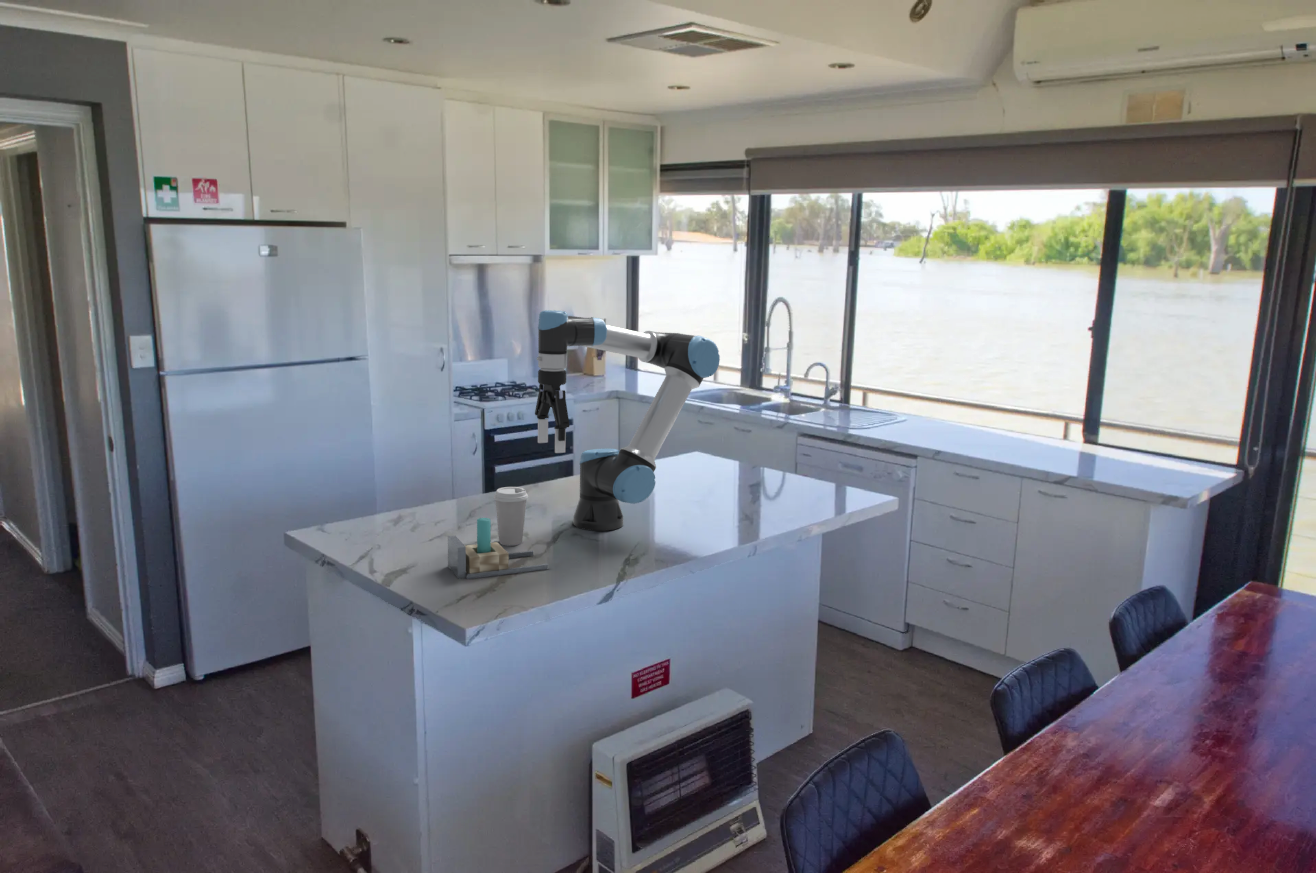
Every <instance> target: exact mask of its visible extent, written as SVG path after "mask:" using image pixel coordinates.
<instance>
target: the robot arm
mask: <svg viewBox="0 0 1316 873" xmlns="http://www.w3.org/2000/svg"><path fill="white" fill-rule="evenodd" d="M538 315H539V316H538V317H539V318H538V324H537V325H538V326H537V330H538V335H537V336H538V338H537V340H538V344H537V345H538V348H537V350H538V355H537V356H536V361H538V365H537V367H538V368H539V369H538V371H537V383H538V384H539V385H538V395H537V400H536V404H535V410H534V415H535V416H536V417H537V443H538V444H545V443H549V418H550V416H549V412H550V410H552V413H553V417H554V418H553V419H554V423H555V426H554V428H553V429H554V453H555V454H563V453H566V440H567V439H566V438H567V436H566V435H567V428H570V425H571V424H570V420H569V419H570V418H569V413H568V407H567V405H568V404H567V399H566V398H567V397H566V396H567V395H566V393H567V392H566V390H565V389H563V390H562V389H561V386H564V385H566V383H567V371H566V369H567V368H568V352H567V351H568V347H580V346H581V347H584V348H585V347H586V348H590V349H595V350H600V351H603V352H604V351H606V352H608V353H615V354H619V355H624V356H628V357H633V358H637V359H638V360H639V362H642V363H646V364H651V365H654V366H655V367H656V366H657V367H660V368H662V369H664V373H665V377H664V379H663V381H662V383H661V384H660V386H659V389H658V390H657V392H656V394H655V396H654V398H653V399H652V402H651V403H650V405H649V407H648V409H647V411H646V413H645V414H644V416H643V418H642V420H641V421H640V423H639V426H638V427H637V429H636V431H635V433H634V435H633V437H632V438H631V440H630V441H629V444H628V445H627V446H625V447H621V448H620V450H619V449H617V448H593V449H588V450H584V451H583V452H581V453H580V459H579V500H578V503H577V505H576V509H575V510H574V513H573V518H572V520H573V521H572V522H573V525H574V527H576V528H578V529H582V530H586V531H592V532H593V531H594V532H595V531H596V532H597V531H599V532H603V531H612V530H614V531H615V530H618V529H620V528H622V527H623V526H624V515H623V512H622V509H621V505H620V502H622V503H626V504H630V505H631V504H632V505H635V504H639V503H642V502H644V501H646V500H647V499H648V498H649V497H650V496H651V494H652V493H653V491H654V490H655V487H656V474H655V470H656V469H657V465H656V457H657V456H658V454H659V452H660V450H661V448H662V446H663V444H664V442H665V440H666V438H667V437H668V435H669V433H670V431H671V429H672V428H673V426H674V424H675V421H676V420H677V419H678V416H679V414H680V412H681V411H682V409H683V408H684V407H683V406H684V405H685V403H686V401H687V400H688V397H689V396H690V393H691V392H692V390H693V389H697V388H699V387H700V386H701V385H702V382H703V380H704V379H706V378H710V377H712V376H713V375H714V374H715V373H716V372H717V370H718V369H719V366H720V360H721V359H720V358H721V356H720V354H719V352H720V351H719V348H718V346H717V344H716V343H715V342H714V341H713V340H712V339H710V338H709V337H705V336H702V335H695V334H694V335H692V334H685V333H680V332H659V331H658V332H657V331H651V330H645V331H643V332H642V331H641V332H640V331H638V330H631V329H627V328H623V327H618V326H613V325H610V324H606V322H605V321H604V320H603V319H602V318H600V317H594V316H593V317H592V316H591V317H581V316H574V315H568V313H567V312H566V311H564V310H555V309H553V310H550V309H549V310H547V309H546V310H542V311H540V313H539V314H538ZM551 408H552V409H551Z"/></svg>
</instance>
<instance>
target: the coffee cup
mask: <svg viewBox="0 0 1316 873" xmlns="http://www.w3.org/2000/svg"><path fill="white" fill-rule="evenodd" d="M493 499H494V500H495V509H496V510H495V512H496V518H497V519H496V521H497V531H498V533H497V534H498V543H499V544H500V545H503V546H508V547H509V546H511V547H512V546H518V545H521V544H522V543H523V542H524V541H523V540H524V532H525V531H524V528H525V519H526V508H527V500H528V499H529V495H528V493H527V491H526V489H525V488H523V487H518V486H505V487H499V488H497V489H496V492H495V493H494V495H493Z"/></svg>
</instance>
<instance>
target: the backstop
mask: <svg viewBox="0 0 1316 873" xmlns="http://www.w3.org/2000/svg"><path fill="white" fill-rule="evenodd" d="M465 546H466V545H464V543H463V542H462V541H461V540H460V539H459V538H458V536H456V535H450V536H449V535H448V536H447V566H448V568H449V569H450V570H451V572H452V573H453V574H454V576H455V577H456V578H457V579H466V580H471V579H479V578H487V577H494V576H505V575H512V574H520V573H528V572H535V571H545V570H548V569H549V564H548V563H542V564H533V565H526V566H518V567H516V566H515V567H511V568H510V567H509V568H508V569H500V570H492V571H483V572H475V573H466V547H465ZM508 553H509V559H517V558H524V557H525V558H526V557H533V556H534V550H526V551H518V552H508Z"/></svg>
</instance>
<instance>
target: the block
mask: <svg viewBox="0 0 1316 873" xmlns="http://www.w3.org/2000/svg"><path fill="white" fill-rule="evenodd" d="M501 545H502V544H500V543H499V542H497V541H496V542H495V541H494V542H491V552H488V553H479V554H477V543H476V544H468V545H464V546H465V547H466V574H467V573H475V572H483V571H492V570H500V569H508V568H510V566H509V562H510V560H509V559H510V558H509V553H510V552H508V551H507V550H506V549H504V547H503V546H501Z"/></svg>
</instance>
